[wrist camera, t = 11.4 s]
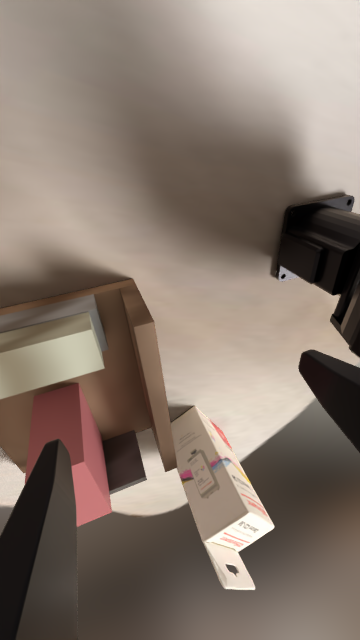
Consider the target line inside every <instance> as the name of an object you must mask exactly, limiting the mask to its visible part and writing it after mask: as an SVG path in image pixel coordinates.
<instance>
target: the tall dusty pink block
mask: <svg viewBox="0 0 360 640" xmlns="http://www.w3.org/2000/svg"><path fill="white" fill-rule="evenodd" d="M55 439H60V440H61V441H62V442H63V444H64V445H65V447H66V449H67V450H68V452H69V454H70V459H71V467H72V476H73V484H74V492H75V500H76V514H77V526H80V525H82V524H85V523H87V522H89V521H92V520H94V519H96V518H99V517H101V516H104V515H106V514H109V513H111V512H112V509H111V502H110V494H109V487H108V479H107V472H106V465H105V457H104V450H103V442H102V436H101V434H100V431H99V429H98V427H97V424H96V422H95V420H94V417H93V415H92V413H91V410H90V408H89V406H88V403H87V401H86V399H85V396H84V394H83V392H82V389H81V387H80V385H79V383H76V384H73V385H70V386H66V387H63V388H60V389H56V390H53V391H50V392H46V393H43V394H40V395H36V396H34V399H33V409H32V419H31V428H30V438H29V448H28V457H27V467H26V477H25V484H26V482H27V480H28V478H29V475H30V473H31V471H32V469H33V467H34V465H35V463H36V461H37V459H38V457H39V455H40V453H41V451H42V449H43V447H44V445H45V444H46V443H47V442H49V441H52V440H55Z"/></svg>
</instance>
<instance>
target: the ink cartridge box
mask: <svg viewBox="0 0 360 640" xmlns="http://www.w3.org/2000/svg"><path fill="white" fill-rule="evenodd" d="M171 429H172V436H173V442H174V448H175V454H176V460H177V470H178V473H179V476H180V478H181V481H182V484H183V487H184V490H185V493H186V496H187V499H188V502H189V505H190V507H191V510H192V513H193V516H194V519H195V522H196V525H197V527H198V530H199V533H200V536H201V539H202V541H203V543H204V545H205V547H206V550H207V552H208V554H209V557H210V559H211V561H212V564H213V566H214V568H215V571H216V573H217V576H218V578H219V580H220V582H221V584H222V586H223V587H224V588H225V589H237V590H248V589H251V590H255V586H254V583H253V581H252V579H251V577H250V575H249V573H248V571H247V569H246V568H245V565H244V564H243V562H242V560H241V558H240V556H239V554H238V552H239V551H240V550H242V549H243V548H245V547H246V546H248V545H249V544H251V543H252V542H254V541H255V540H257V539H258V538H260V537H261V536H263V535H264V534H266V533H267V532H269V531H270V530H272V529H273V528H274V525H273V523H272V521H271V519H270V517H269V516H268V514H267V512H266V510H265V509H264V507H263V505H262V503H261V501H260V500H259V498H258V496H257V495H256V492H255V491H254V489H253V487H252V485H251V483H250V482H249V480H248V478H247V476H246V474H245V472H244V471H243V469H242V467H241V465H240V463H239V461H238V459H237V457H236V456H235V454H234V452H233V450H232V448H231V446H230V444H229V443H228V441H227V439H226V437H225V435H224V434H223V432H222V431H221V430H220V429H219V428H218V427H217V426H216V425H215V424H214V423H213V422H211V421H210V420H209V419H208V418H207V417H206V416H205V415H204V414H203V413H202V412H201V411H200V410H199V409H198V408H197V407H196V406H194V407H192V408H191V409H189V410H188V411H187V412H185V413H184V414H183V415H181V416H180V417H179V418H177V419H176V420H174V421H173V422H172V423H171ZM225 564H230V565H234V566H235V567H236V569H237V571H238V573H237V574H236V576H235V575H234V573H232V572H229V571H228V569H227V567H226V565H225Z"/></svg>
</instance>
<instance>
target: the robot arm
mask: <svg viewBox="0 0 360 640" xmlns="http://www.w3.org/2000/svg"><path fill="white" fill-rule="evenodd" d="M347 201H348V202H347ZM353 204H354V197H353V196H350V195H345V196H339V197H334V198H329V199H323V200H318V201H313V202H307V203H302V204H297V205H291V206H289V207H288V208H287V209H286V211H285V217H284V223H283V230H282V237H281V244H280V251H279V258H278V265H277V272H276V278H277V279H278V280H279V281H286V280H290V279H294V278H297V277H300V278H301V279H303V280H305V281H306V282H308V283H310V284H314V285H316V286H318V287H319V288H321V289H323V290H324V291H326V292H328V293H329V294H331V295H339V296H340V298H339V301H338V304H337V306H336V309H335V312H334V314H332V316H331V319H330V322H331V323H332V324H333V325H334V327H335V328H336V329H337V331H338V332H339V333H340V334H341V336H342V337H343V338H344V339H345V341H346V342H347V343H348V345H349V349H350V350H351V352H352V353H354V354H355V355H356V356H358V357H359V358H360V214H357V213H353V212H351V211H352V207H353ZM292 211H293V213H292V214H291V212H292ZM281 276H282V277H281ZM299 372H300V374H301V375H302V377H303V378H304V380H305V381H306V383H307V384H308V386H309V387H310V389H311V390H312V392H313V393H314V395H315V396H316V398H317V399H318V401H319V402H320V404H321V405H322V407H323V408H324V409H325V410H326V411H327V413H328V414H329V415H330V417H331V418H332V419H333V420H334V422H335V423H336V424H337V425H338V427H339V428H340V429H341V430H342V432H343V433H344V434H345V435H346V436H347V438H348V439H349V440H350V441H351V443H352V444H353V445H354V446H355V448H356V449H357V450H358V451H359V453H360V368H359V367H356V366H354V365H351V364H349V363H346V362H344V361H341V360H339V359H336V358H334V357H331V356H329V355H326V354H323V353H321V352H318V351H316V350H308V351H305V352H303V353H302V354H301V358H300V362H299ZM77 609H78V608H77V514H76V500H75V492H74V484H73V476H72V467H71V459H70V454H69V452H68V450H67V449H66V447H65V445H64V444H63V442H62V441H61V440H60V439H55V440H52V441H49V442H47V443H46V444H45V445H44V447H43V449H42V451H41V453H40V455H39V457H38V459H37V461H36V463H35V465H34V467H33V469H32V471H31V473H30V475H29V478H28V480H27V482H26V484H25V486H24V488H23V490H22V492H21V494H20V496H19V498H18V500H17V502H16V504H15V506H14V508H13V510H12V513H11V515H10V517H9V519H8V521H7V523H6V525H5V527H4V529H3V531H2V533H1V535H0V640H78V615H77V614H78V612H77V611H78V610H77Z"/></svg>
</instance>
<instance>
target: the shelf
mask: <svg viewBox="0 0 360 640" xmlns="http://www.w3.org/2000/svg"><path fill="white" fill-rule="evenodd" d="M76 383H79V385H80V387H81V389H82V392H83V394H84V396H85V399H86V401H87V403H88V406H89V408H90V410H91V413H92V415H93V417H94V420H95V422H96V424H97V427H98V429H99V431H100V434H101V436H102V442H103V450H104V457H105V465H106V472H107V479H108V487H109V494H113V493H115V492H118V491H120V490H123V489H125V488H128V487H130V486H133V485H135V484H137V483H140V482H142V481H145V480H147V479H146V475H145V471H144V467H143V463H142V458H141V454H140V450H139V446H138V442H137V438H136V434H135V433H137V432H140V431H143V430H145V429H148V428H151V427H152V430H153V433H154V437H155V440H156V443H157V446H158V450H159V453H160V456H161V459H162V462H163V466H164V469H165V472H167V471H170V470H172V469H175V468H177V460H176V454H175V448H174V442H173V436H172V429H171V423H170V417H169V411H168V404H167V398H166V392H165V386H164V380H163V373H162V367H161V361H160V355H159V349H158V342H157V336H156V330H155V324H154V320H153V318H152V316H151V314H150V312H149V310H148V308H147V306H146V304H145V302H144V300H143V298H142V296H141V294H140V292H139V290H138V288H137V286H136V284H135V282H134V280H133V279H129V280H125V281H121V282H116V283H112V284H107V285H103V286H98V287H94V288H89V289H85V290H81V291H76V292H72V293H67V294H63V295H58V296H54V297H49V298H45V299H41V300H36V301H32V302H27V303H23V304H18V305H14V306H9V307H5V308H1V309H0V446H1V447H2V448H3V450H4V451H5V452H6V453H7V454H8V456H9V457H10V458H11V459H12V460H13V461H14V463H15V464H16V465H17V466H18V467H19V469H20V470H21V471H22V472H23V473H26V467H27V457H28V448H29V438H30V428H31V419H32V409H33V399H34V396H36V395H40V394H43V393H46V392H50V391H53V390H56V389H60V388H63V387H66V386H70V385H73V384H76Z"/></svg>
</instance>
